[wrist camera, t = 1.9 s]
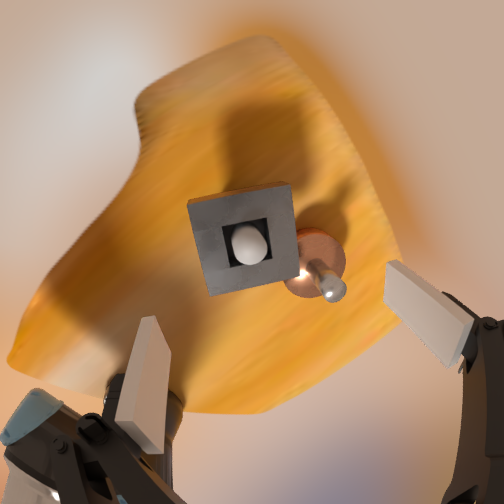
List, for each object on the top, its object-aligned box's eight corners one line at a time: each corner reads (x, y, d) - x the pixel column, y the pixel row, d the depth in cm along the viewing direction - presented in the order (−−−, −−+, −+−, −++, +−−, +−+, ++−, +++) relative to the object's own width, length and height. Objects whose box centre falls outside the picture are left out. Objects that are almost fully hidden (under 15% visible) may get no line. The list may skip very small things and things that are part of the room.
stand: (218, 248, 33) (222, 287, 24) (207, 200, 31) (207, 222, 21) (266, 237, 33) (288, 273, 24) (258, 190, 31) (280, 208, 22)
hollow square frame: (209, 284, 28) (209, 296, 26) (188, 199, 24) (186, 204, 22) (293, 266, 29) (300, 276, 26) (282, 181, 25) (290, 184, 23)
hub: (280, 293, 37) (300, 333, 28) (272, 235, 33) (294, 264, 25) (336, 278, 37) (367, 312, 29) (334, 222, 34) (370, 246, 26)
